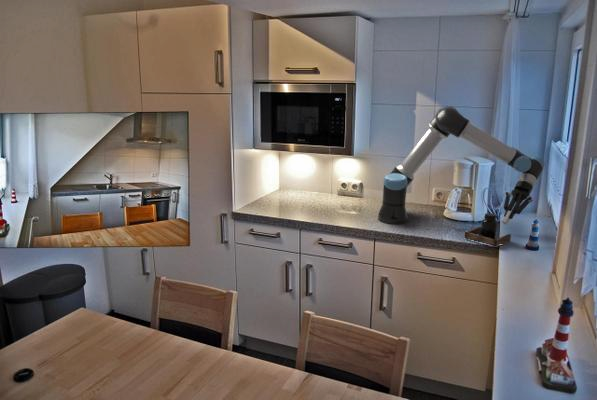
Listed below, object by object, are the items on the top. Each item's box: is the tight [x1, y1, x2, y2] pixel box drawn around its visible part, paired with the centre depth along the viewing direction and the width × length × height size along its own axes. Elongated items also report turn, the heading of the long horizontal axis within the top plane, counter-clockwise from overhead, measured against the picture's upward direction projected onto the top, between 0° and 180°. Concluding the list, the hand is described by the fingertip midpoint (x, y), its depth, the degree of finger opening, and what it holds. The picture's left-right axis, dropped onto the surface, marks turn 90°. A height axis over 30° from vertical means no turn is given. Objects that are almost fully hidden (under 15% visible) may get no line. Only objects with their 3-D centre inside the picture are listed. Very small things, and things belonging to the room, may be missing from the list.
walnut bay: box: [464, 225, 512, 246], centre depth 215 cm, size 15×14×4 cm
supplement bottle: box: [479, 212, 498, 240], centre depth 216 cm, size 7×7×12 cm
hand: (504, 223), depth 224 cm, fingers closed
